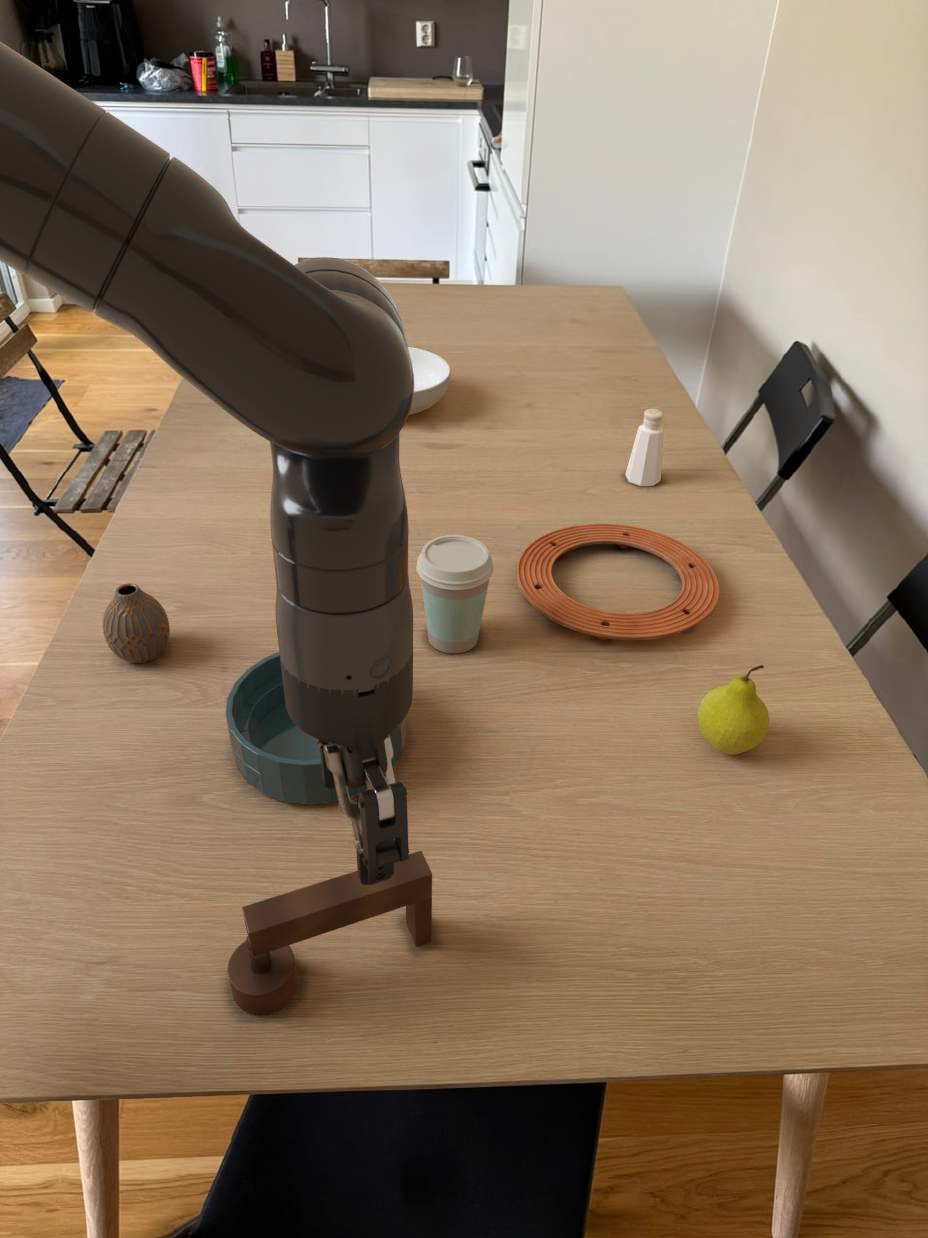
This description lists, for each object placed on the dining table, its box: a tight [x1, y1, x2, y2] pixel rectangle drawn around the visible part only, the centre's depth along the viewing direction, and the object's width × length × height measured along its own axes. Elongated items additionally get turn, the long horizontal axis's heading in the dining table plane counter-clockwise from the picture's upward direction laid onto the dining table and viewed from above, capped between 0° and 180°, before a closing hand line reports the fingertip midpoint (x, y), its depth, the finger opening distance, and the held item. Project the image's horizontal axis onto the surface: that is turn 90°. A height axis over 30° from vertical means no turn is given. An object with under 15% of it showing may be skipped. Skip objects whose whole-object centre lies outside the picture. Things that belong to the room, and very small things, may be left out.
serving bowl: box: [408, 346, 452, 416], centre depth 153 cm, size 21×21×7 cm
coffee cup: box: [415, 534, 495, 654], centre depth 101 cm, size 8×8×12 cm
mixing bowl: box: [225, 651, 407, 805], centre depth 89 cm, size 17×17×6 cm
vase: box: [102, 583, 171, 664], centre depth 98 cm, size 7×7×9 cm
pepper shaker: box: [625, 408, 665, 488], centre depth 133 cm, size 5×5×11 cm
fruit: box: [697, 665, 770, 756], centre depth 88 cm, size 7×7×12 cm
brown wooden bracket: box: [227, 850, 433, 1017], centre depth 69 cm, size 16×5×9 cm, turn 113°
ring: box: [515, 523, 720, 641], centre depth 113 cm, size 25×25×2 cm
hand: (356, 828), depth 60 cm, fingers open, 8 cm apart
